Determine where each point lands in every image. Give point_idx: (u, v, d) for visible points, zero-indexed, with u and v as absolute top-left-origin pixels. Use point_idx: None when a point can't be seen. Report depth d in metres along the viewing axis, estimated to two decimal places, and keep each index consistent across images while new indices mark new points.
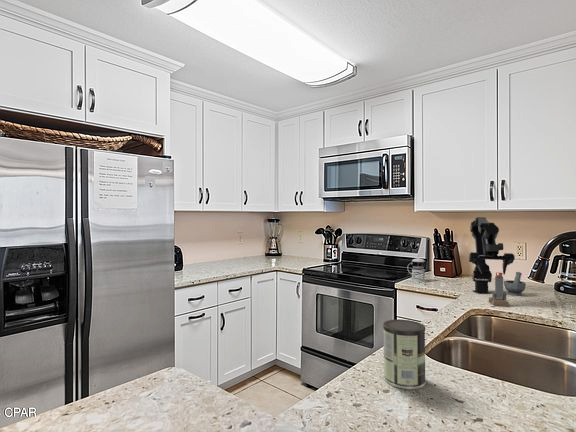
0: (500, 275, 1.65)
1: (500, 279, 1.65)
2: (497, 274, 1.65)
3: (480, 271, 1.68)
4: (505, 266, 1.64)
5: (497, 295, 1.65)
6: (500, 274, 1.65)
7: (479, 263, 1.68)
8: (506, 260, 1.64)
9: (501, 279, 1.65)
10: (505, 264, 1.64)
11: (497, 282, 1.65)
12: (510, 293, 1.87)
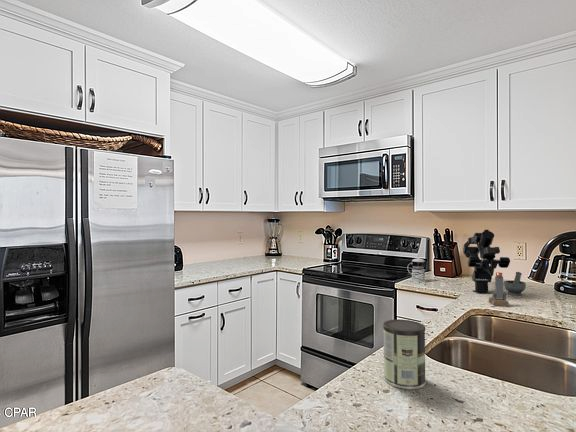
0: (500, 275, 1.65)
1: (500, 279, 1.65)
2: (497, 274, 1.65)
3: (489, 273, 1.77)
4: (493, 268, 1.77)
5: (497, 295, 1.65)
6: (500, 274, 1.65)
7: (488, 266, 1.78)
8: (493, 262, 1.78)
9: (501, 279, 1.65)
10: (492, 266, 1.78)
11: (497, 282, 1.65)
12: (510, 293, 1.87)
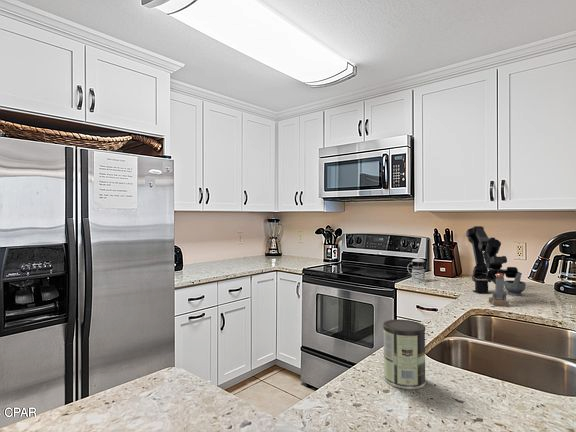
0: (501, 276, 1.63)
1: (500, 280, 1.64)
2: (498, 275, 1.64)
3: None
4: None
5: (497, 295, 1.65)
6: (501, 275, 1.63)
7: (494, 276, 1.69)
8: (500, 272, 1.68)
9: (502, 280, 1.64)
10: None
11: (498, 283, 1.65)
12: (510, 293, 1.87)
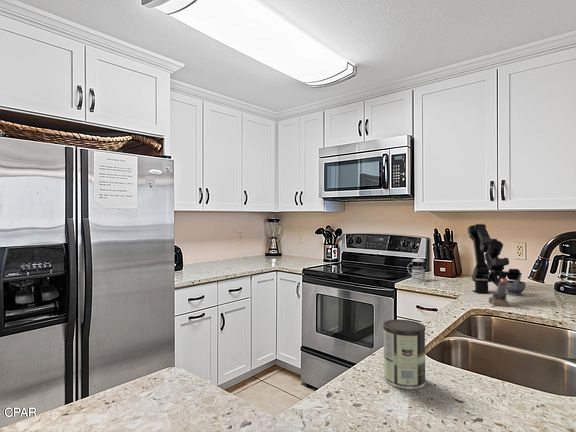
0: (504, 283, 1.59)
1: (503, 285, 1.60)
2: (502, 281, 1.59)
3: None
4: None
5: (497, 297, 1.65)
6: (505, 282, 1.59)
7: (496, 278, 1.66)
8: (502, 274, 1.66)
9: (505, 285, 1.60)
10: None
11: (500, 287, 1.62)
12: (510, 293, 1.87)
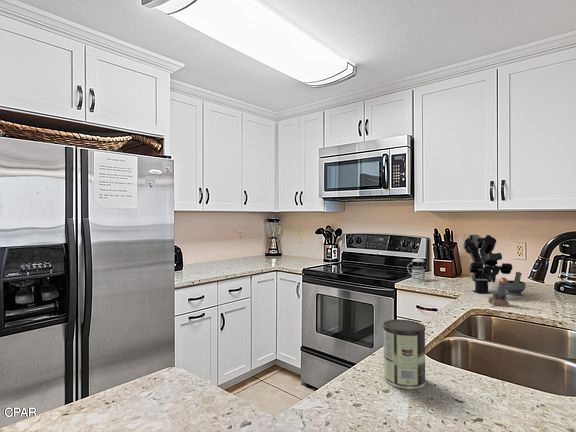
0: (504, 283, 1.59)
1: (503, 285, 1.60)
2: (502, 281, 1.59)
3: (491, 280, 1.74)
4: (495, 274, 1.74)
5: (497, 297, 1.65)
6: (505, 282, 1.59)
7: (490, 272, 1.75)
8: (495, 269, 1.75)
9: (505, 285, 1.60)
10: (494, 272, 1.75)
11: (500, 287, 1.62)
12: (510, 293, 1.87)
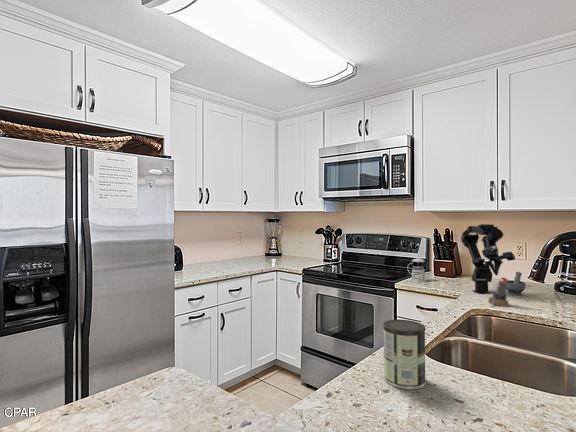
0: (504, 283, 1.59)
1: (503, 285, 1.60)
2: (502, 281, 1.59)
3: None
4: (496, 267, 1.76)
5: (497, 297, 1.65)
6: (505, 282, 1.59)
7: (491, 266, 1.78)
8: (495, 261, 1.76)
9: (505, 285, 1.60)
10: (495, 265, 1.77)
11: (500, 287, 1.62)
12: (510, 293, 1.87)
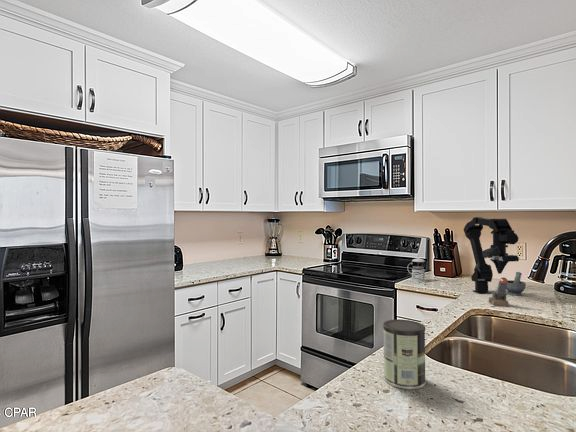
0: (504, 283, 1.59)
1: (503, 285, 1.60)
2: (502, 281, 1.59)
3: None
4: (498, 266, 1.77)
5: (497, 297, 1.65)
6: (505, 282, 1.59)
7: (495, 264, 1.79)
8: (497, 262, 1.77)
9: (505, 285, 1.60)
10: (498, 265, 1.77)
11: (500, 287, 1.62)
12: (510, 293, 1.87)
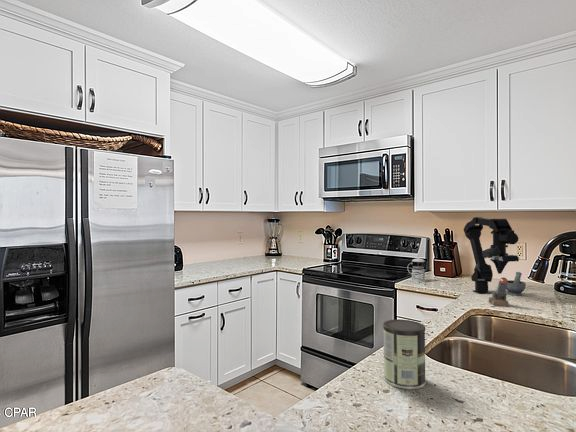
0: (504, 283, 1.59)
1: (503, 285, 1.60)
2: (502, 281, 1.59)
3: None
4: (498, 266, 1.77)
5: (497, 297, 1.65)
6: (505, 282, 1.59)
7: (495, 264, 1.79)
8: (497, 262, 1.76)
9: (505, 285, 1.60)
10: (498, 265, 1.77)
11: (500, 287, 1.62)
12: (510, 293, 1.87)
